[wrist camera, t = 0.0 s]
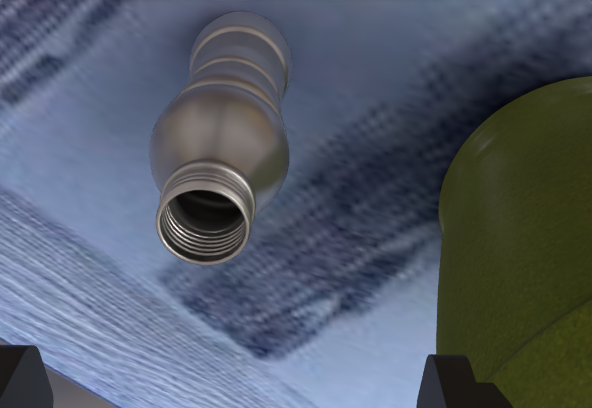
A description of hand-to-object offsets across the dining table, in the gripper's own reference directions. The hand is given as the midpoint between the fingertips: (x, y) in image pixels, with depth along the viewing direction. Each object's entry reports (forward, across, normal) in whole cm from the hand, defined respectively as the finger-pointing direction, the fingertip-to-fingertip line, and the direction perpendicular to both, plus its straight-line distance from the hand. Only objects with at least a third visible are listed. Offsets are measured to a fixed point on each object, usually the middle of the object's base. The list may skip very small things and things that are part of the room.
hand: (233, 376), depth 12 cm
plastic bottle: (+30, +2, +3) cm, 30 cm away
